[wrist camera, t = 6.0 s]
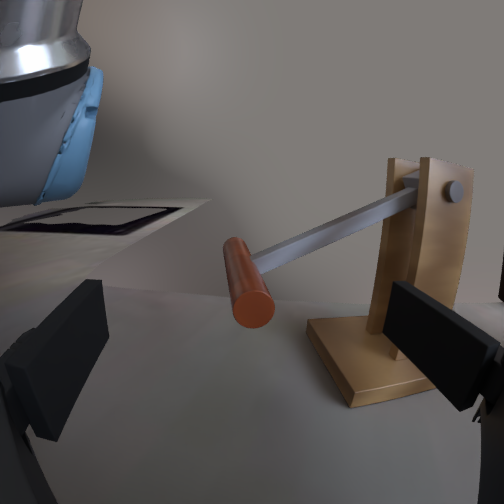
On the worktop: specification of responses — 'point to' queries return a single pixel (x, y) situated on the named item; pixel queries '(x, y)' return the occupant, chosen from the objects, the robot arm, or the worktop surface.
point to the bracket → (401, 269)
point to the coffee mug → (502, 284)
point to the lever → (298, 253)
